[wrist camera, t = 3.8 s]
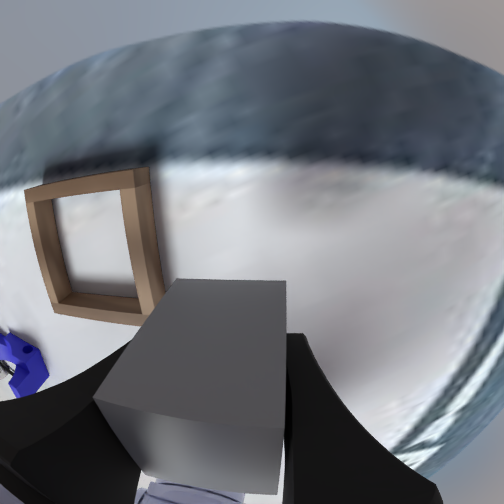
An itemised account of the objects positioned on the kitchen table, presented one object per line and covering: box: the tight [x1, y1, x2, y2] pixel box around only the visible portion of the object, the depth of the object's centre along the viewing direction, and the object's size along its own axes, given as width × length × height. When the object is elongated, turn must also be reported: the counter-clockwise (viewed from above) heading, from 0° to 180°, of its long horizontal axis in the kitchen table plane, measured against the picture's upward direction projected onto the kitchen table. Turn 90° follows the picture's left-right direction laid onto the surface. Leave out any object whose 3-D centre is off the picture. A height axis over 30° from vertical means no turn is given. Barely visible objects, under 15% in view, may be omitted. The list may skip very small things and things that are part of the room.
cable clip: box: [0, 333, 49, 398], centre depth 22 cm, size 12×4×6 cm, turn 81°
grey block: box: [93, 278, 286, 495], centre depth 8 cm, size 4×4×6 cm
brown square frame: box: [24, 167, 165, 326], centre depth 17 cm, size 10×10×2 cm
